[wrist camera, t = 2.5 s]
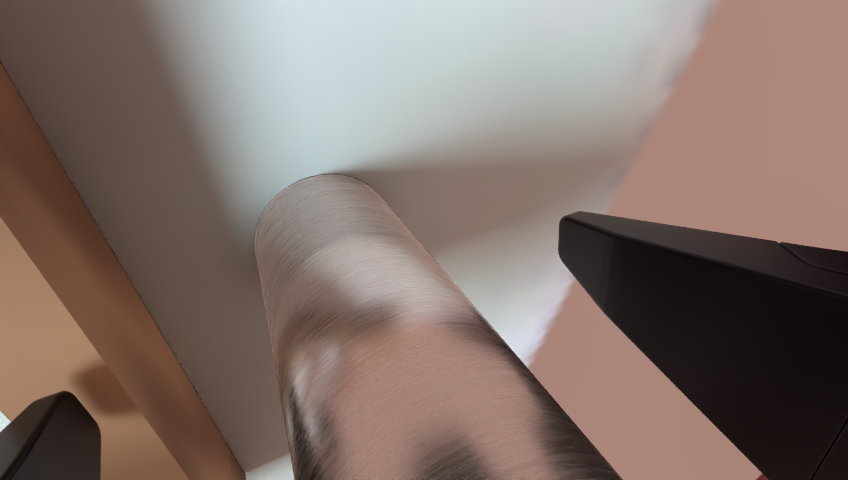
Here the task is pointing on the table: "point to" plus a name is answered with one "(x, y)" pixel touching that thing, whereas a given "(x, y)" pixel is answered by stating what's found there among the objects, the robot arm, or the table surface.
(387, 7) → the table surface
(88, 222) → the dock
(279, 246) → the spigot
